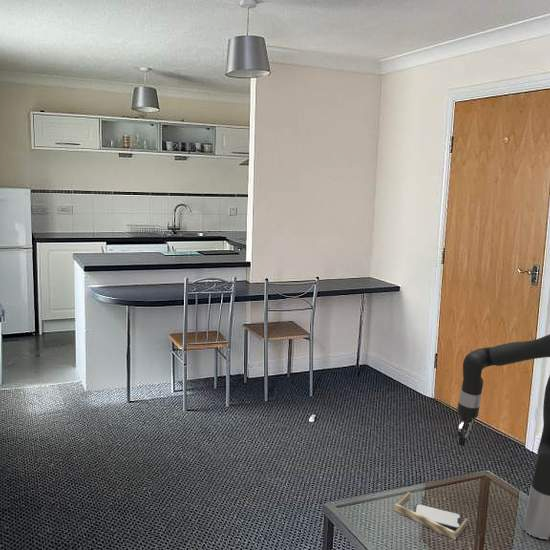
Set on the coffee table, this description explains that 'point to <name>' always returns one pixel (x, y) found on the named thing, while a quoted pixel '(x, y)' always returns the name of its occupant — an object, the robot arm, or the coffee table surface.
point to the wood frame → (426, 521)
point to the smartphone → (439, 516)
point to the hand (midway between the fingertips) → (461, 444)
